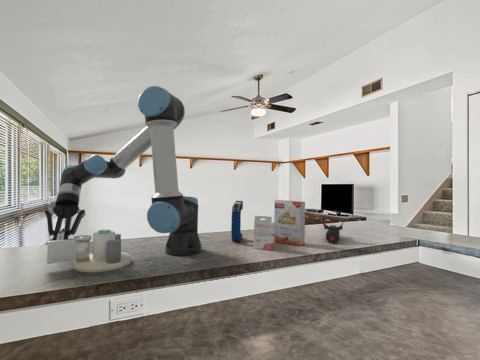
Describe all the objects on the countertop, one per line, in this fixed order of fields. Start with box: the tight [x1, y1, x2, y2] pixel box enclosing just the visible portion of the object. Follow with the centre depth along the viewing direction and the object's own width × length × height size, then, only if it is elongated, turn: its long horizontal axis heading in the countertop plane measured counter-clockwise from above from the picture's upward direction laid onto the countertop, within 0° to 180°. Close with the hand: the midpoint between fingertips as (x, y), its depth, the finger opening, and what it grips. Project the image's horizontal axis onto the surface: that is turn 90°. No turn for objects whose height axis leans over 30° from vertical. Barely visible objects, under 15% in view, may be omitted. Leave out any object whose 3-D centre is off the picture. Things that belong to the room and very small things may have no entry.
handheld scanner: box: [230, 200, 244, 243], centre depth 139 cm, size 5×16×20 cm, turn 174°
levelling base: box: [73, 229, 132, 273], centre depth 96 cm, size 18×18×12 cm
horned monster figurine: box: [322, 220, 344, 245], centre depth 144 cm, size 10×22×10 cm, turn 158°
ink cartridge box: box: [253, 215, 275, 251], centre depth 123 cm, size 9×5×15 cm, turn 68°
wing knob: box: [46, 234, 93, 265], centre depth 91 cm, size 13×5×8 cm, turn 129°
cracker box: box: [273, 199, 306, 247], centre depth 134 cm, size 14×6×21 cm, turn 55°
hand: (58, 251), depth 91 cm, fingers closed
